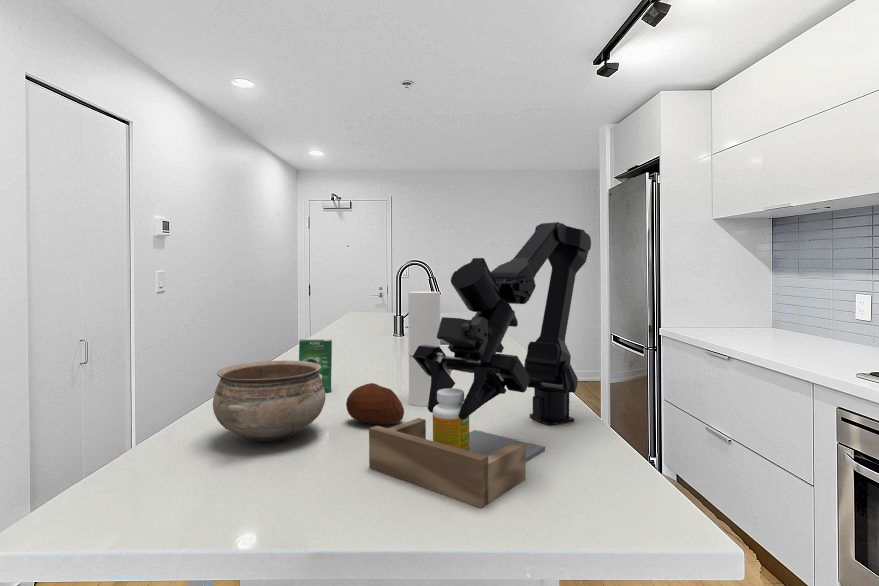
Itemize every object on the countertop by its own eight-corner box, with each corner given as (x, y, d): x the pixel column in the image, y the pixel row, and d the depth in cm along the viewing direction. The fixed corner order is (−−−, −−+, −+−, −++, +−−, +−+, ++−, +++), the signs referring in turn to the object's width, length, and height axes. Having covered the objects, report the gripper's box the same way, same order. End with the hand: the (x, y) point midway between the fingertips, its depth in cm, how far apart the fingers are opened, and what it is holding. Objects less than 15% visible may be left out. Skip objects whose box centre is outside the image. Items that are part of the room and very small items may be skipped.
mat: (474, 433, 89) (474, 429, 89) (544, 450, 81) (544, 446, 81) (434, 450, 81) (434, 447, 80) (508, 472, 72) (508, 468, 72)
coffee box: (332, 389, 124) (331, 338, 123) (332, 392, 121) (331, 339, 120) (299, 391, 122) (298, 339, 121) (298, 394, 119) (297, 340, 119)
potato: (400, 430, 91) (400, 388, 91) (339, 429, 92) (339, 387, 92) (406, 418, 99) (406, 379, 98) (350, 417, 100) (350, 378, 99)
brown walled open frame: (418, 447, 82) (418, 412, 82) (525, 478, 69) (525, 437, 69) (369, 467, 74) (368, 428, 73) (481, 508, 61) (480, 460, 61)
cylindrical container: (446, 400, 113) (445, 291, 112) (429, 407, 107) (428, 292, 106) (420, 396, 116) (420, 291, 116) (402, 403, 110) (401, 292, 110)
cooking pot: (256, 415, 101) (255, 356, 101) (345, 418, 99) (344, 358, 98) (176, 460, 77) (175, 383, 76) (291, 466, 74) (290, 386, 74)
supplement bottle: (466, 464, 69) (466, 396, 69) (429, 462, 70) (428, 395, 70) (471, 451, 75) (471, 387, 74) (437, 448, 76) (436, 386, 75)
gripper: (419, 295, 80) (370, 374, 72) (519, 299, 69) (474, 393, 61) (449, 338, 87) (408, 414, 79) (545, 347, 75) (508, 438, 67)
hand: (444, 414), depth 71 cm, fingers closed on supplement bottle, 5 cm apart
